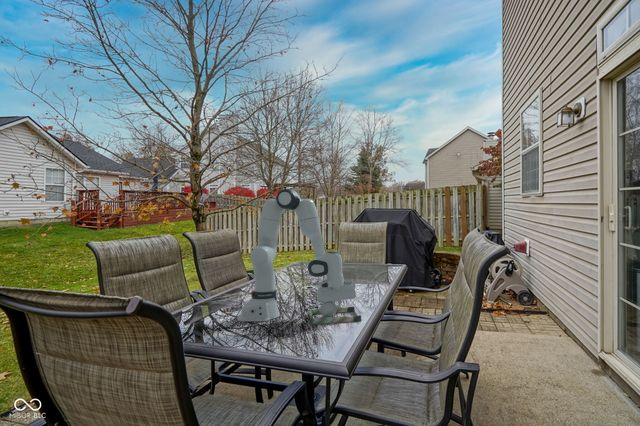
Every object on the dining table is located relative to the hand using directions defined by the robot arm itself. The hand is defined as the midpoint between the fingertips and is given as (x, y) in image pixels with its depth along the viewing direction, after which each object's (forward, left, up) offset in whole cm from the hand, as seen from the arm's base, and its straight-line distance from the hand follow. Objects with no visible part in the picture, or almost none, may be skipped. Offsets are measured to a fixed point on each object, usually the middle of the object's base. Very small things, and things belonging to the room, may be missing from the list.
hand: (337, 308), depth 182 cm
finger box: (-2, 0, -4) cm, 5 cm away
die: (-5, 0, -4) cm, 6 cm away
